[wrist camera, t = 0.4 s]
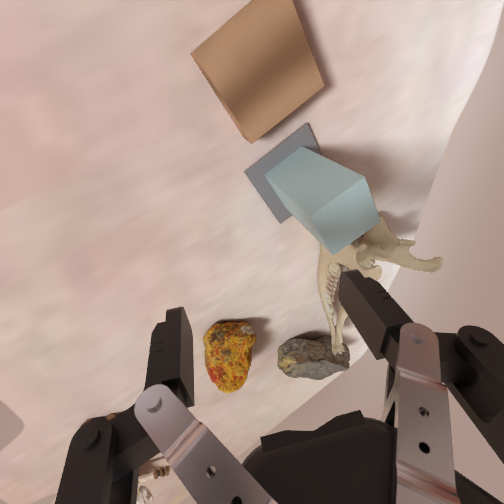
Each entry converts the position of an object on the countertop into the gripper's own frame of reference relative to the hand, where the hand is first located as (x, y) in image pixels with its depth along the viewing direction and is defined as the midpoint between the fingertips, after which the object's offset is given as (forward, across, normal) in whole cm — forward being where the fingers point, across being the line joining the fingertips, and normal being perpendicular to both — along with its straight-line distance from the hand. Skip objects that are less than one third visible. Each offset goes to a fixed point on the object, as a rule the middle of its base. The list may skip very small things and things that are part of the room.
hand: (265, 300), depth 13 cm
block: (+22, -9, +3) cm, 24 cm away
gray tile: (+22, -9, +3) cm, 24 cm away
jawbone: (+23, -16, +23) cm, 36 cm away
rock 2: (+22, -12, +40) cm, 47 cm away
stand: (+22, -5, -9) cm, 24 cm away
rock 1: (+21, +4, +30) cm, 37 cm away
